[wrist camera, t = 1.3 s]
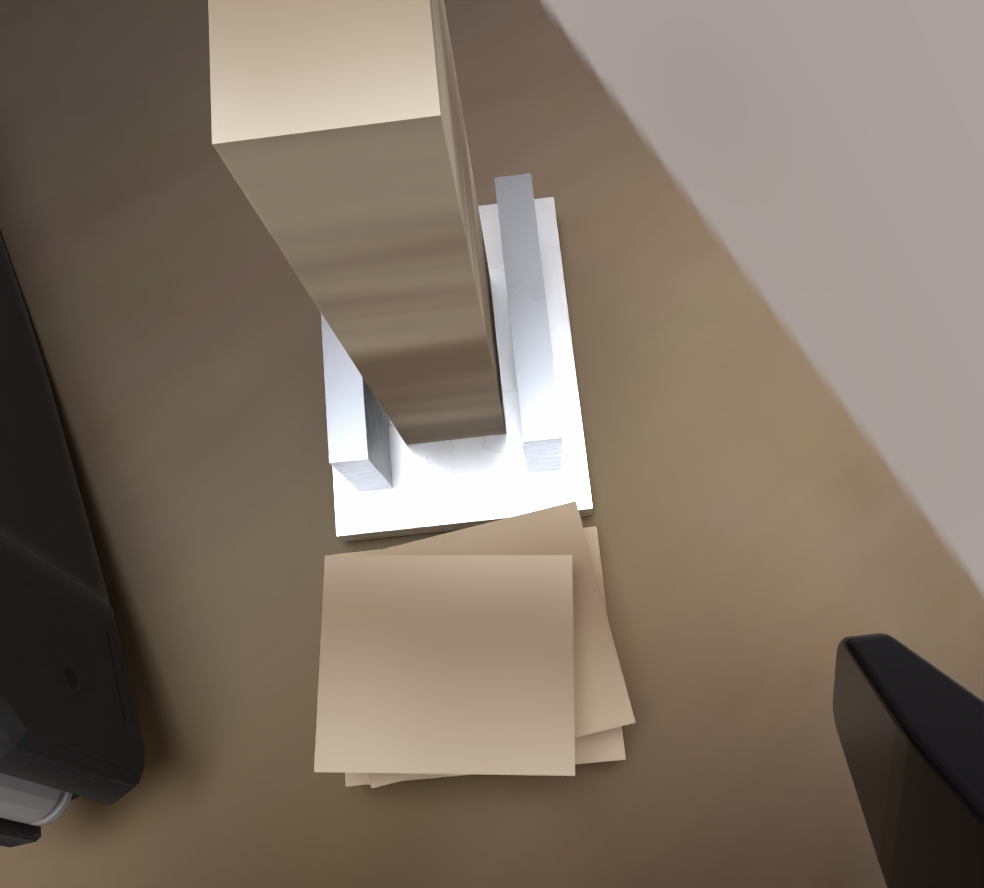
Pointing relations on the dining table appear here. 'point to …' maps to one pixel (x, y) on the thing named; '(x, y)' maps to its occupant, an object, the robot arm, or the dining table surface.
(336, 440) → the rack
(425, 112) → the beige rectangular block
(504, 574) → the offcut stack
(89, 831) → the dining table surface
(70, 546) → the black curved panel
